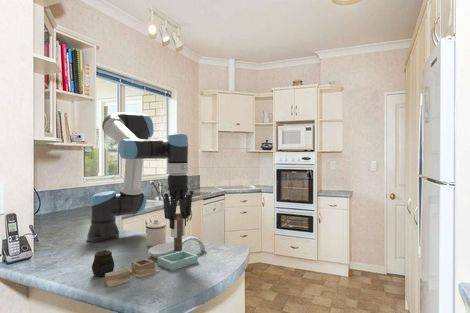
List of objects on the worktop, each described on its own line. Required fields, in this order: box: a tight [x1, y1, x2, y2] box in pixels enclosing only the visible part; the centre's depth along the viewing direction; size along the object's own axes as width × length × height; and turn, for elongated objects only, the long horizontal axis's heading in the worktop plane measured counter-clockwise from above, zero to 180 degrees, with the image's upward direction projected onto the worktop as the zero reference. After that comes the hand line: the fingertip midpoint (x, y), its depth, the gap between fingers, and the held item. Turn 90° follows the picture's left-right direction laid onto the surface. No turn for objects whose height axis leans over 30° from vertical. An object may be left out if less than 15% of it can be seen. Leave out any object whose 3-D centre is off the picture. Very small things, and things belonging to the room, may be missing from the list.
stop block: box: [104, 267, 131, 288], centre depth 101 cm, size 3×7×4 cm, turn 136°
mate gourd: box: [91, 249, 115, 278], centre depth 109 cm, size 7×8×10 cm
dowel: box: [173, 212, 183, 252], centre depth 119 cm, size 3×3×14 cm
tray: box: [157, 249, 199, 272], centre depth 119 cm, size 9×12×3 cm
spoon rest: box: [147, 235, 206, 260], centre depth 131 cm, size 24×12×7 cm, turn 117°
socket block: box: [129, 257, 160, 279], centre depth 111 cm, size 8×8×4 cm
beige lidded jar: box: [145, 218, 167, 247], centre depth 147 cm, size 12×9×12 cm
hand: (178, 236), depth 119 cm, fingers closed on dowel, 3 cm apart
